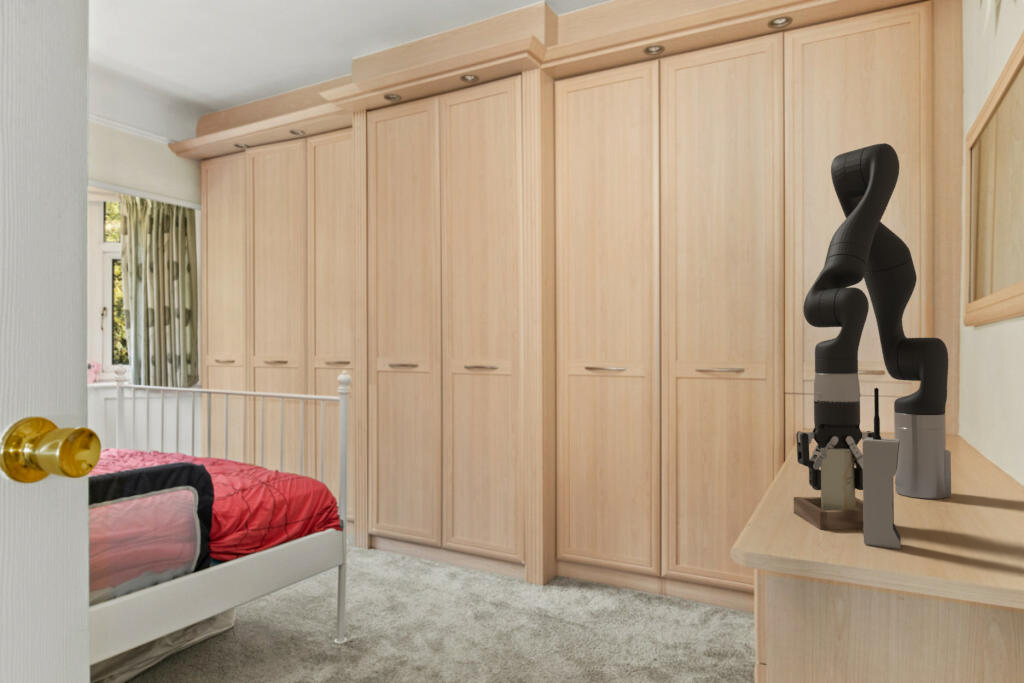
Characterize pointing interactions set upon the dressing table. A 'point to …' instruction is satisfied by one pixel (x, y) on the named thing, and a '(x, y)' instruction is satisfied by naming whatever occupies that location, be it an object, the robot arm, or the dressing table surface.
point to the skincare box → (838, 480)
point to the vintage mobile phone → (879, 486)
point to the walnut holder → (829, 514)
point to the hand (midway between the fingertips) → (837, 489)
